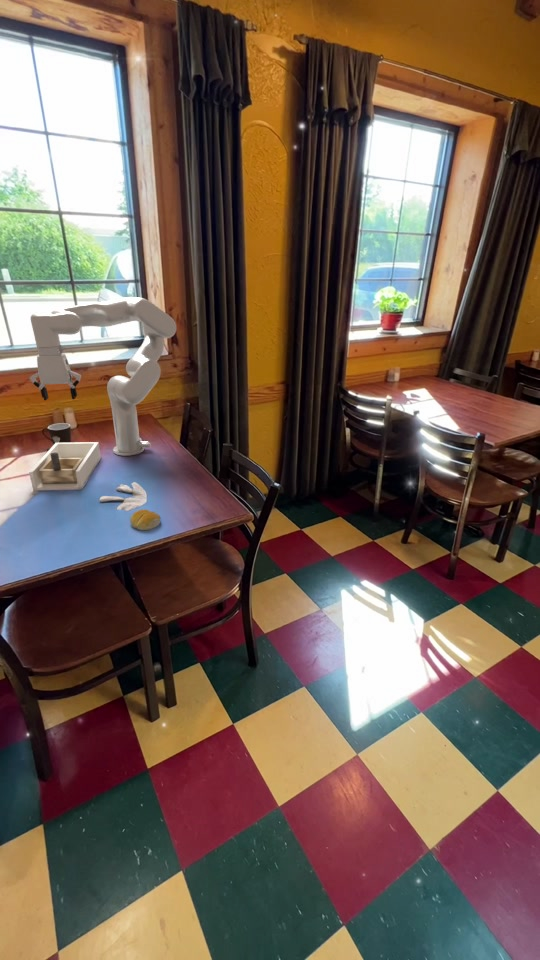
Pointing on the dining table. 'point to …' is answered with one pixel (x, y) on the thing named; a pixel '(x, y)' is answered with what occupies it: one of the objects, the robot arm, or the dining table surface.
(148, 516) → the bread roll
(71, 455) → the bay
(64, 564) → the dining table surface
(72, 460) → the box
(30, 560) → the dining table surface
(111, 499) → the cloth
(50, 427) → the coffee mug
